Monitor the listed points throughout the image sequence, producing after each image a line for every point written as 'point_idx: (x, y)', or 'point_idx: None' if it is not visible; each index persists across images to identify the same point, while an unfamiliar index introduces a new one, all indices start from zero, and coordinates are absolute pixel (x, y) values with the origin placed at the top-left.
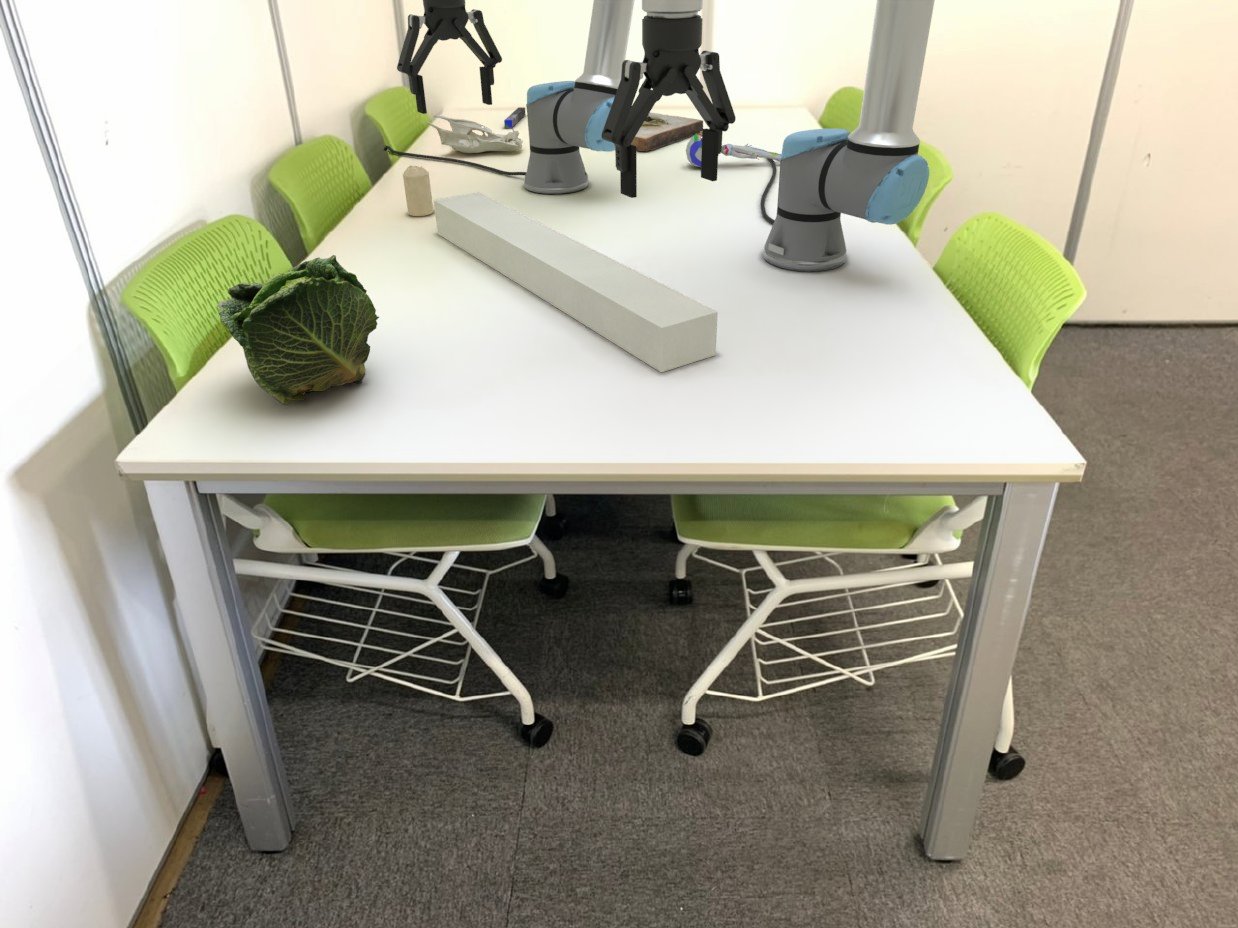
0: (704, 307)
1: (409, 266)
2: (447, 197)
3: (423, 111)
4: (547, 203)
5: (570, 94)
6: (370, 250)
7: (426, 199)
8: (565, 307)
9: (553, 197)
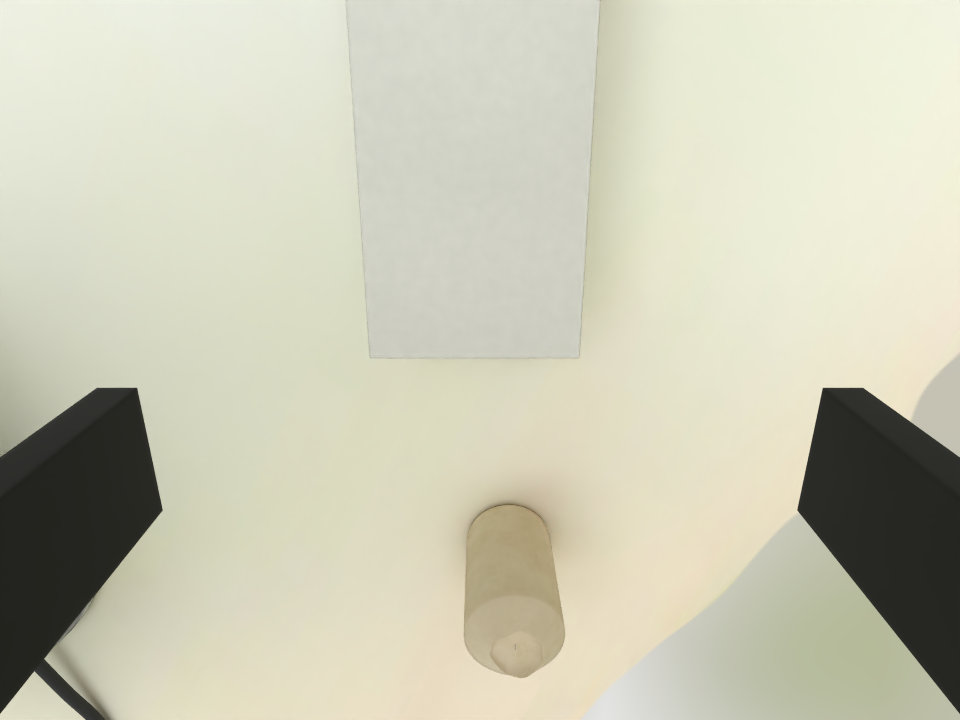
0: None
1: (820, 34)
2: (516, 356)
3: (869, 398)
4: None
5: None
6: (824, 291)
7: (500, 536)
8: None
9: None
